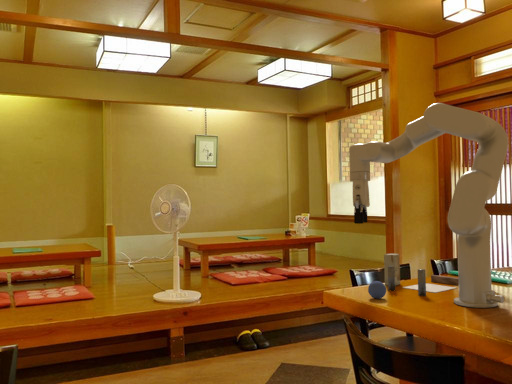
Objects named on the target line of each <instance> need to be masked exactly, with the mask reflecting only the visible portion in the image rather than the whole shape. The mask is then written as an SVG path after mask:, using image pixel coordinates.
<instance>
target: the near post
mask: <svg viewBox="0 0 512 384" xmlns="http://www.w3.org/2000/svg"><path fill="white" fill-rule="evenodd" d="M426 274H427V273H426V269H424V268H418V269H417V284H418V290H417V294H418V295H417V296H419V297H425V296H427V292H426V282H427V279H426Z"/></svg>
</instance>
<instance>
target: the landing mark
mask: <svg viewBox="0 0 512 384" xmlns="http://www.w3.org/2000/svg"><path fill="white" fill-rule="evenodd" d="M402 288H403V289H407V290H415V291H418V283H417V284H413V285H408V286H403V287H402ZM456 289H457V287H454V286H448V285H443V284H442V285H439V284H434V283H426V293H433V294H437V293H442V292H447V291H449V290H450V291H451V290H456Z"/></svg>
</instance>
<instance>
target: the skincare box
mask: <svg viewBox="0 0 512 384" xmlns="http://www.w3.org/2000/svg"><path fill="white" fill-rule="evenodd" d="M400 257H401V256H400V253H385V254H383V266H384V268H383V270H384V285H385V286H388V267H387V266H395V287H396V286H398V285H400V284H401V267H400V266H401V263H400V259H401V258H400Z"/></svg>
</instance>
